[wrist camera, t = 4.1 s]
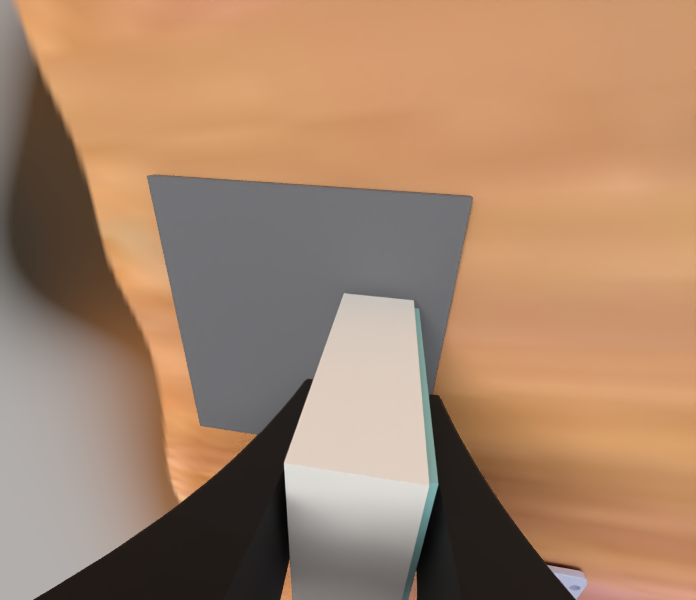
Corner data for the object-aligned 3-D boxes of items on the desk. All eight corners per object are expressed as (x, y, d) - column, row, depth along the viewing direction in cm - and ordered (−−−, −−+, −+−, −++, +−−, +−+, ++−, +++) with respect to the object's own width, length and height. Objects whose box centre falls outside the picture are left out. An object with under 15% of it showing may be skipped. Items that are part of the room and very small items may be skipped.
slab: (402, 406, 14) (404, 624, 8) (339, 398, 14) (292, 601, 8) (419, 300, 12) (441, 488, 6) (343, 293, 12) (283, 462, 6)
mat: (418, 451, 16) (419, 458, 16) (204, 419, 17) (200, 425, 17) (470, 195, 11) (472, 197, 10) (154, 174, 12) (146, 175, 12)
